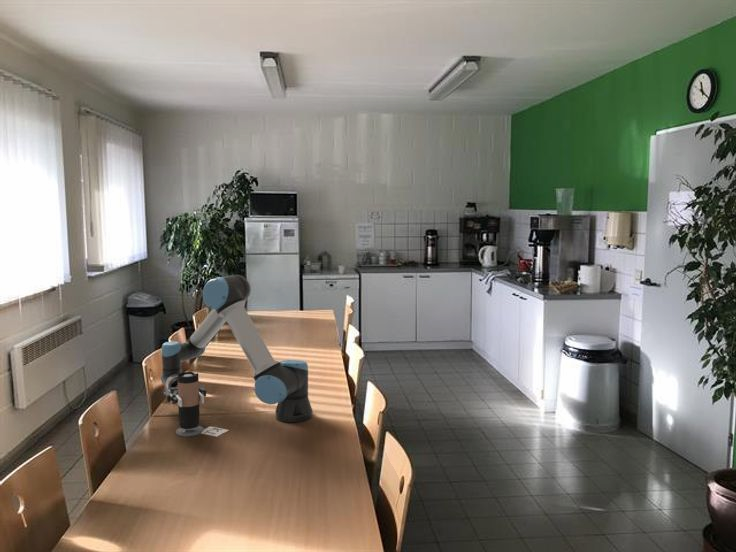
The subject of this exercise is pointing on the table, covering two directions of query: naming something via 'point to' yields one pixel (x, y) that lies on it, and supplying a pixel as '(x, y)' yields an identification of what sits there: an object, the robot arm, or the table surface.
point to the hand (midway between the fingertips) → (192, 401)
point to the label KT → (214, 431)
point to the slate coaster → (189, 431)
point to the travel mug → (188, 400)
